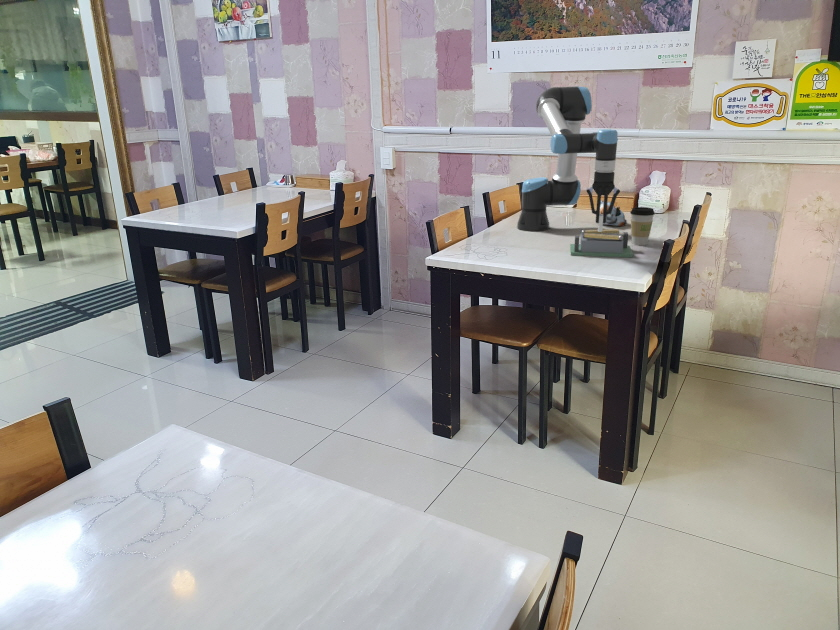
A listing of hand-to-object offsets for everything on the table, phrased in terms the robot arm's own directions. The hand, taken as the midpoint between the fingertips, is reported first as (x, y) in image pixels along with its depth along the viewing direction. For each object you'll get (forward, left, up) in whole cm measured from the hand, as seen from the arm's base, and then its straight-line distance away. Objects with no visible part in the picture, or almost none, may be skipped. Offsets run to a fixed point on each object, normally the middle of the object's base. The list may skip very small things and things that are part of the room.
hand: (599, 231), depth 261 cm
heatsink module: (+1, +4, -9) cm, 10 cm away
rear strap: (+1, +9, -3) cm, 9 cm away
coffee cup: (+18, +21, -10) cm, 29 cm away
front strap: (+1, 0, -3) cm, 3 cm away
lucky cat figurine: (+9, +60, -10) cm, 62 cm away
